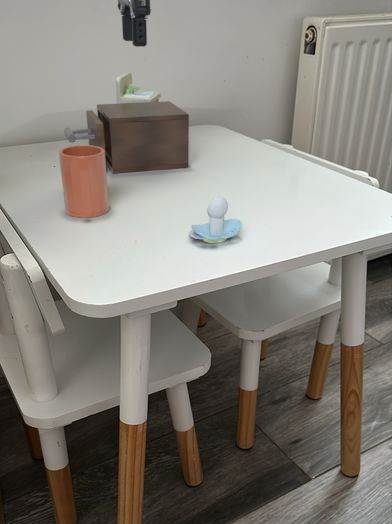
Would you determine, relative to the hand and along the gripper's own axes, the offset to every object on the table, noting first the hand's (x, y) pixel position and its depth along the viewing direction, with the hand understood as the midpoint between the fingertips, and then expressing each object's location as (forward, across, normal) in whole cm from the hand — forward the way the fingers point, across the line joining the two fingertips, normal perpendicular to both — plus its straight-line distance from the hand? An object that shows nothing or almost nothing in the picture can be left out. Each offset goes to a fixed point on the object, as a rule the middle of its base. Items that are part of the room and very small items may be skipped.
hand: (134, 43), depth 93 cm
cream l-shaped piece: (+21, -21, +5) cm, 30 cm away
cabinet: (+21, -5, +2) cm, 22 cm away
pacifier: (+21, +34, +4) cm, 40 cm away
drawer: (+20, -5, -3) cm, 21 cm away
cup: (+21, +19, -12) cm, 31 cm away
